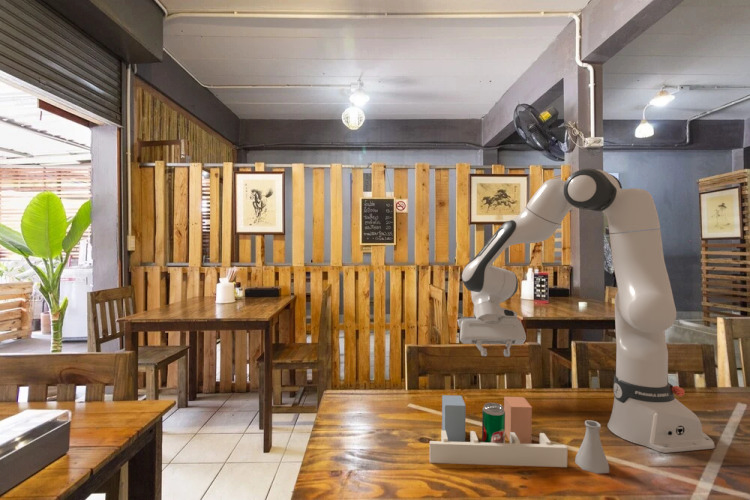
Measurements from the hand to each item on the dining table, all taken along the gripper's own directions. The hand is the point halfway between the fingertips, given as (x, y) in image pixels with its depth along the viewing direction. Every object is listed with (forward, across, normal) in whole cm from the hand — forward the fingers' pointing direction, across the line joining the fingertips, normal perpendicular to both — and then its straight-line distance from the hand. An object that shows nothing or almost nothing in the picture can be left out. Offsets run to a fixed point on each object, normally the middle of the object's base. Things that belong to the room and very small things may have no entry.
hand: (495, 355), depth 119 cm
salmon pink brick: (+25, 0, -5) cm, 26 cm away
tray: (+29, -8, -8) cm, 31 cm away
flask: (+34, +13, -12) cm, 38 cm away
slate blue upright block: (+25, -16, -5) cm, 30 cm away
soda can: (+32, -8, -10) cm, 34 cm away
